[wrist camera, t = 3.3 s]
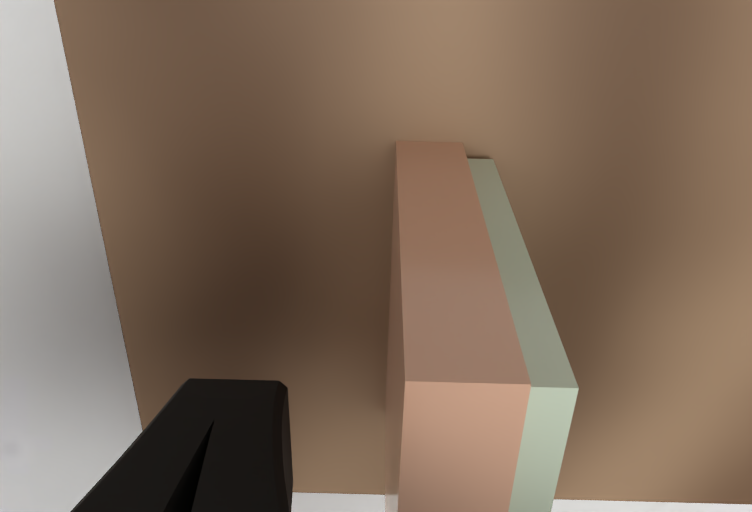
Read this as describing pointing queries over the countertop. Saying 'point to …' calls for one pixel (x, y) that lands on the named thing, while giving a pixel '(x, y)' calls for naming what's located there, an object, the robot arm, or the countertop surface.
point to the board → (376, 197)
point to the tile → (468, 346)
